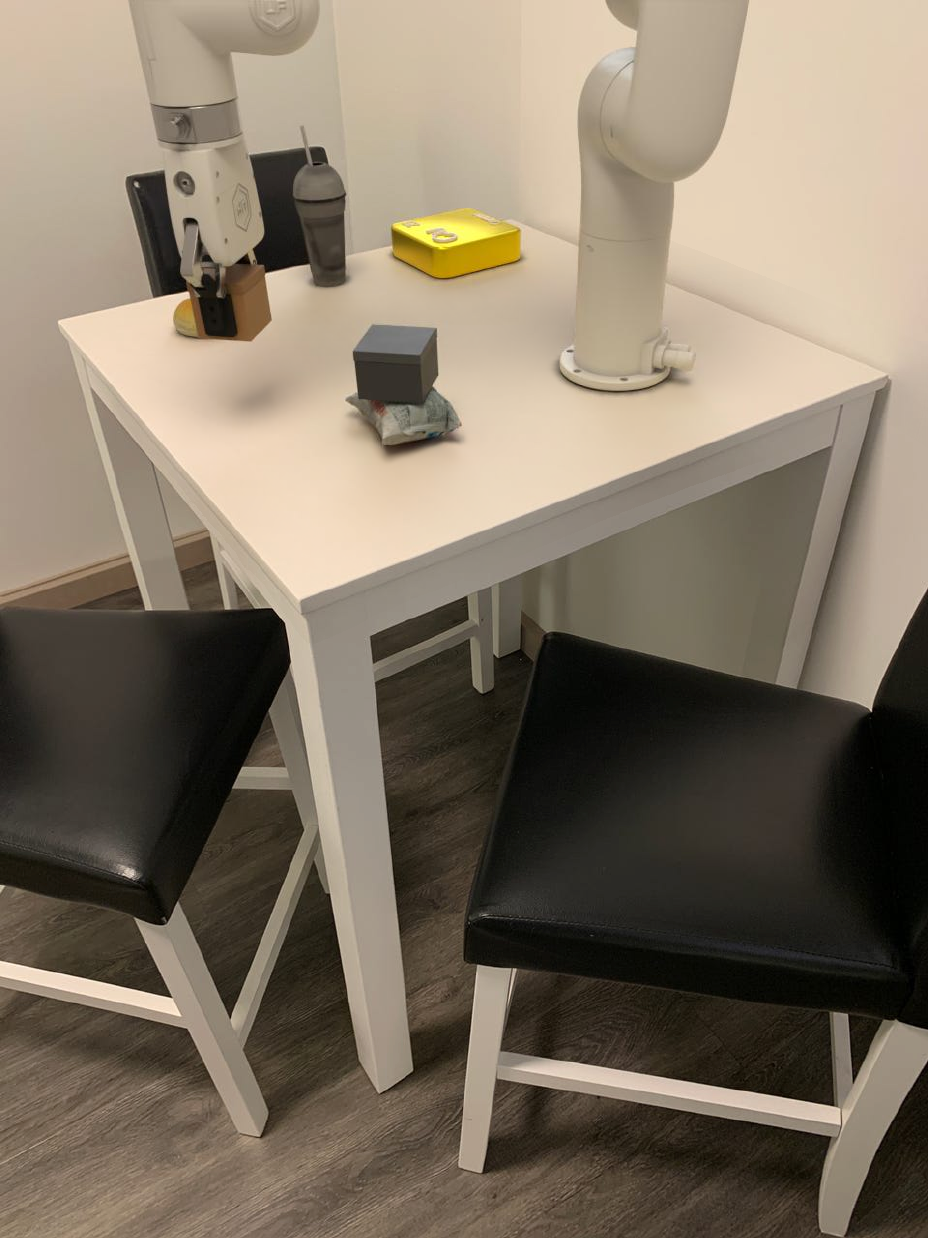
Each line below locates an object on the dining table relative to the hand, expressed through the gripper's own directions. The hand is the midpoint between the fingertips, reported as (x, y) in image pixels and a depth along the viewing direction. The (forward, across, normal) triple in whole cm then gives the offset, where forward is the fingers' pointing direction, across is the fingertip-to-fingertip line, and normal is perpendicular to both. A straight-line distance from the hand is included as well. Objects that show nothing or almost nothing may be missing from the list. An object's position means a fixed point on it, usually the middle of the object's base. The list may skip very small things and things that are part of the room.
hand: (234, 321), depth 93 cm
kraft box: (+1, 0, 0) cm, 1 cm away
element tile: (+11, +54, -11) cm, 56 cm away
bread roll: (+11, +24, +15) cm, 30 cm away
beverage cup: (+11, +42, +5) cm, 44 cm away
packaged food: (+11, 0, -17) cm, 20 cm away
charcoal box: (+6, 0, -17) cm, 18 cm away
